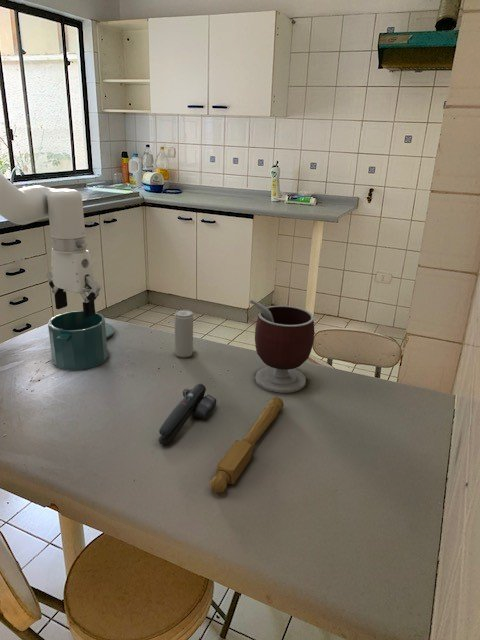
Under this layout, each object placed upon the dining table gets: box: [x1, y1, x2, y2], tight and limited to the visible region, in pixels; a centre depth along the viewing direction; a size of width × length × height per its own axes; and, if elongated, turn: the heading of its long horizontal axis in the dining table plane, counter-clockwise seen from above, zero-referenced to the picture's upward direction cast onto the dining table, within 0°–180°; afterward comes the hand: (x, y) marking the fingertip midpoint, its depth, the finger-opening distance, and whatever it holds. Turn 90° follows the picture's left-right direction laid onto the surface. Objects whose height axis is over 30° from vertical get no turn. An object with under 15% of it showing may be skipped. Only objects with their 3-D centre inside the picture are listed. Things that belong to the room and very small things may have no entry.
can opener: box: [158, 383, 218, 446], centre depth 94 cm, size 18×7×6 cm, turn 154°
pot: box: [47, 310, 109, 371], centre depth 118 cm, size 13×19×10 cm
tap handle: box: [209, 396, 284, 494], centre depth 89 cm, size 3×3×30 cm
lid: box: [105, 322, 115, 339], centre depth 132 cm, size 14×14×7 cm
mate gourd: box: [249, 299, 315, 394], centre depth 110 cm, size 16×14×20 cm
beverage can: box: [174, 309, 194, 359], centre depth 122 cm, size 5×5×12 cm
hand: (75, 311), depth 115 cm, fingers open, 9 cm apart
